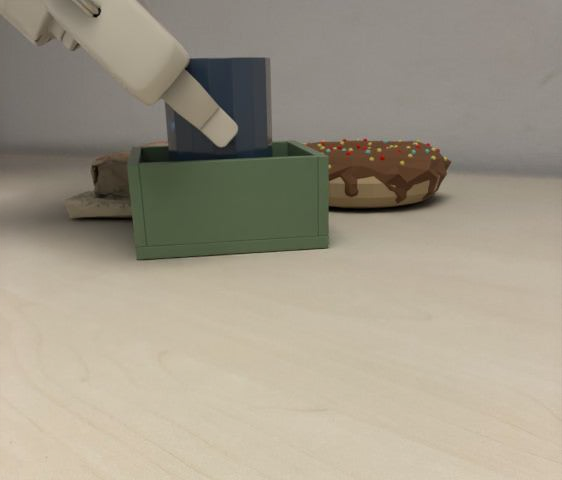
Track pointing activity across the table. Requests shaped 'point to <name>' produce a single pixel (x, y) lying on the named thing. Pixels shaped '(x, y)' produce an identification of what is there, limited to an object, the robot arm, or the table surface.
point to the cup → (227, 110)
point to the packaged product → (106, 189)
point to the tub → (229, 202)
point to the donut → (381, 172)
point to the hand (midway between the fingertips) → (228, 133)
